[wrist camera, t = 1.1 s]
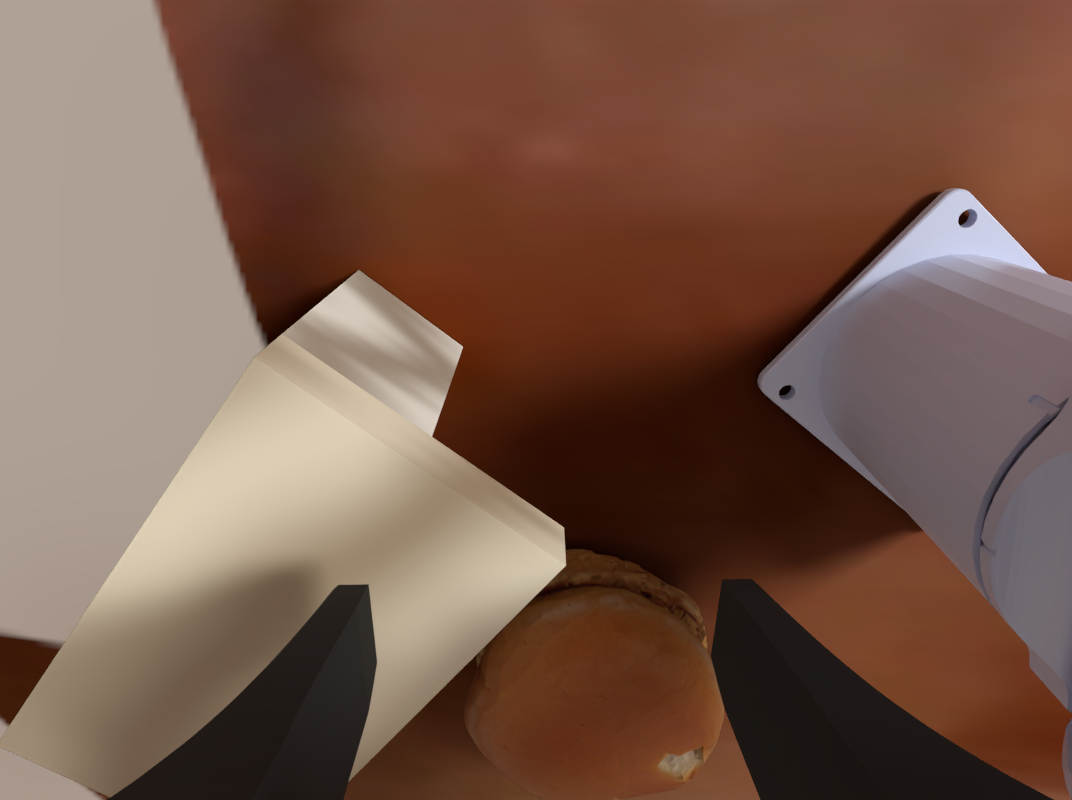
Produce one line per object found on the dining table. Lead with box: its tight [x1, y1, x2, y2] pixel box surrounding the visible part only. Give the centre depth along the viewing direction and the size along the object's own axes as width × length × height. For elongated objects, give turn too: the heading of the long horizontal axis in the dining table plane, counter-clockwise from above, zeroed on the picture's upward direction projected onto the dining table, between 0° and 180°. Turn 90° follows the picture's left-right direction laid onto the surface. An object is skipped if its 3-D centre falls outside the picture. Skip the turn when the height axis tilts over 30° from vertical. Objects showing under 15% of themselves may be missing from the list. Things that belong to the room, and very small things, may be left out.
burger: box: [463, 549, 724, 800], centre depth 24 cm, size 10×9×5 cm
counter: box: [0, 270, 566, 797], centre depth 20 cm, size 8×14×8 cm, turn 141°
